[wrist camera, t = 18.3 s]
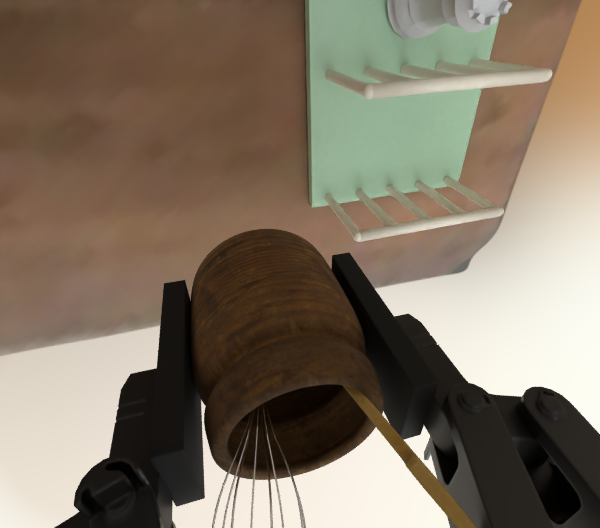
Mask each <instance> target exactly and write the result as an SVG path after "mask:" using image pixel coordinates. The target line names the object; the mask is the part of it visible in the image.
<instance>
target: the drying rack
mask: <svg viewBox="0 0 600 528" xmlns="http://www.w3.org/2000/svg"><path fill="white" fill-rule="evenodd" d="M387 3H388V0H305V31H306V78H307V125H308V172H309V204H310V205H311V207H312V208H313V207H320V206H326V205H329V206H330V207H331V208H332V210H333V211H334V212H335V214H336V215H337V216H338V218H339V219H340V220H341V222H342V223H343V224H344V226H345V227H346V228H347V230H348V231H349V232H350V233H351V235H352V236H353V238H354V240H355V241H357V242H361V241H367V240H372V239H378V238H383V237H389V236H394V235H400V234H405V233H411V232H416V231H422V230H427V229H433V228H438V227H444V226H449V225H455V224H460V223H466V222H471V221H477V220H482V219H488V218H493V217H499V216H501V215H502V214H503V213H504V210H503V208H502V207H499V206H497V205H495V204H494V203H492V202H490V201H489V200H487V199H486V198H484V197H482V196H481V195H479V194H477V193H476V192H474V191H472V190H471V189H469V188H467V187H466V186H464V185H462V184H461V183H459V178H460V174H461V170H462V166H463V162H464V158H465V154H466V150H467V146H468V142H469V138H470V134H471V130H472V126H473V122H474V118H475V114H476V110H477V106H478V102H479V98H480V94H481V90H482V88H490V87H500V86H510V85H520V84H530V83H541V82H546V81H548V80H549V79H550V78H551V76H552V70H551V69H549V68H537V67H530V66H523V65H516V64H509V63H503V62H496V61H489V58H490V54H491V50H492V46H493V42H494V38H495V34H496V30H497V26H498V22H499V18H500V15H499V16H498V22H496V23H493V24H491V25H490V26H489V27H488V28H487V29H484V30H482V31H479V32H477V33H474V32H466V31H465V30H464V29H463V28H462V27H454V26H451V25H450V24H449V23H447V24H444V25H442V26H441V27H440V28H439V29H438V30H437V31H436V32H435V33H433V34H431V35H429V36H426V37H424V38H421V39H420V38H416V39H408V38H403V37H402V36H400V35H399V34H398V33H396V32H395V31H394V29H393V27H392V25H391V23H390V21H389V16H388V6H387ZM447 186H450V187H452V188H453V189H455V190H456V191H458V192H459V193H461V194H463V195H464V196H466V197H467V198H469V199H470V200H472V201H473V202H475V203H477V204H478V205H480V206H481V207H483V208H484V209H481V210H475V211H470V212H465V211H464V210H462V209H461V208H459V207H458V206H457V205H455V204H454V203H452V202H451V201H449V200H448V199H447V198H445V197H444V196H442V195H441V194H439V193H438V192H437V191H435V190H434V188H440V187H447ZM415 191H422V192H424V193H425V194H426V195H428V196H429V197H430V198H432V199H433V200H434V201H436V202H437V203H439V204H440V205H441V206H443V207H444V208H445V209H447V210H448V211H449V212H451V213H452V214H453V215H447V216H441V217H435V218H432V217H430V216H429V215H428V214H427V213H425V212H424V211H423V210H422V209H421V208H419V207H418V206H417V205H416V204H414V203H413V202H412V201H411V200H410V199H408V198H407V197H406V196H405V195H403V194H402V193H409V192H415ZM390 195H392V196H393V197H394V198H395V199H396V200H398V201H399V202H400V203H401V204H402V205H403V206H404V207H406V208H407V209H408V210H409V211H410V212H411V213H413V214H414V215H415V216H416V217H417V218H418V219H419V220H418V221H413V222H407V223H401V224H396V223H395V222H394V221H393V220H392V219H391V218H390V217H389V216H388V215H387V214H386V213H385V212H384V211H383V210H382V209H381V208H380V207H379V206H378V205H377V204H376V203H375V202H374V201H373V200H372V199H371V198H377V197H383V196H390ZM358 200H361V201H362V202H363V203H364V204H365V205H366V206H367V207H368V208H369V209H370V210H371V211H372V212H373V213H374V214H375V215H376V216H377V218H378V219H379V220H380V221H381V222H382V223H383V224H384V225H385V226H384V227H378V228H373V229H367V230H361V231H360V230H359V228H358V227H357V226H356V225H355V224H354V222H353V221H352V220H351V219H350V217H349V216H348V215H347V214H346V213H345V211H344V210H343V209H342V208H341V206H340V205H339V203H345V202H351V201H358Z"/></svg>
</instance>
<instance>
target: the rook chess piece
mask: <svg viewBox="0 0 600 528" xmlns="http://www.w3.org/2000/svg"><path fill="white" fill-rule="evenodd" d="M507 1H508V0H388V3H387V6H388V16H389V21H390V23H391V25H392V27H393V29H394V31H395V32H396V33H398V34H399V35H400V36H402V37H403V38H408V39H416V38H420V39H421V38H424V37H426V36H429V35H431V34H433V33H435V32H436V31H437V30H438V29H439V28H440V27H441V26H442V25H444V24H447V23H449V24H450V25H451V26H454V27H462V28H463V29H464V30H465V31H466V32H474V33H477V32H479V31H482V30H484V29H487V28H488V27H489V26H490V25H491V24H493V23H496V22H498V16H499V15H500V14H507V12H508V10H509V9H510V7H511V6H512V3H510V2H507Z"/></svg>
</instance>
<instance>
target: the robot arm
mask: <svg viewBox="0 0 600 528" xmlns="http://www.w3.org/2000/svg"><path fill="white" fill-rule="evenodd" d="M332 272H333V274H334V275H335V277H336V279H337V281H338V282H339V284H340V286H341V288H342V289H343V291H344V293H345V295H346V297H347V298H348V300H349V302H350V304H351V306H352V308H353V310H354V312H355V314H356V316H357V318H358V320H359V323H360V325H361V328H362V331H363V335H364V340H365V356H366V357H367V358H368V359H369V361H370V362H371V364H372V365H373V367H374V369H375V372H376V374H377V377H378V380H379V384H380V387H381V391H382V394H383V399H384V409H383V411H384V413H385V415H386V417H387V419H388V421H389V423H390V425H391V426H392V427H393V428H394V430H395V431H396V432H397V433H398V434H399V435H400V437H401V438H402V439H403V440H404V439H407V438H410V437H414V436H417V435H420V434H421V431H422V428H423V426H425V427H426V429H427V431H428V433H429V434H430V439H429V441H428V444H427V446H426V449H425V451H424V459H425V460H428V459H429V457H430V454H431V456H432V460H433V463H434V467H435V471H436V475H437V479H438V481H439V482H440V483H441V484H442V485H443V487H444V488H445V489H446V490H447V491H448V492H449V494H450V495H451V496H452V497H453V499H454V500H455V501H456V502H457V503H458V505H459V506H460V507H461V508H462V510H463V511H464V512H465V513H466V515H467V516H468V517H469V518H470V520H471V521H472V522H473V523H474V524H475V526H476V527H477V528H600V434H599V433H598V432H597V431H596V430H595V429H594V428H593V427H592V425H591V424H589V422H588V421H587V420H586V419H585V418H584V417H583V416H582V415H581V414H580V413H579V412H578V410H577V409H576V408H575V407H574V406H573V405H572V404H571V403H570V402H569V401H568V400H567V399H565V398H564V397H563V396H562V395H560V394H559V393H557V392H555V391H553V390H551V389H547V388H544V387H531V388H529V389H527V390H526V392H525V393H524V395H523V396H522V397H517V396H500V395H492V394H488V393H487V392H486V391H485V390H484V389H483V388H481V387H478V386H476V385H474V384H470V383H468V382H467V381H466V380H465V378H463V376H462V375H461V374H460V372H459V371H458V370H457V368H456V367H455V366H454V365H453V363H452V362H451V361H450V359H449V358H448V357H447V355H446V354H445V353H444V352H443V350H442V349H441V348H440V347H439V345H437V343H436V341H435V340H434V339H433V337H432V336H430V334H429V332H428V331H427V330H426V328H425V327H424V326H423V324H422V323H421V322H420V321H418V320H417V319H415V318H414V317H413V316H411V315H410V314H405V315H400V316H395V317H394V316H393V315H392V313H391V312H390V310H389V309H388V308H387V306H386V305H385V303H384V302H383V301H382V299H381V297H380V296H379V295H378V293H377V292H376V290H375V289H374V287H373V286H372V284H371V283H370V282H369V280H368V279H367V277H366V276H365V274H364V273H363V272H362V270H361V269H360V267H359V266H358V264H357V263H356V261H355V260H354V259H353V257H352V256H351V254H350V253H344V254H338V255H332ZM118 406H119V409H118V410H117V416H116V423H115V428H114V433H113V439H112V444H111V450H110V456H109V458H107V459H104V460H102V461H101V462H100V463H98V464H97V465H95V466H94V467H93V468H91V470H90V471H89V472H88V473H87V474H86V475H85V476H84V477H83V479H82V480H81V482H80V485H79V486H78V489H77V490H76V493H75V500H74V506H75V507H76V508H77V509H78V510H79V511H80V512H78V513H77V514H76V515H74V516H73V517H71V518H69V519H68V520H66V521H65V522H63V523H61V524H60V525H58V526H56V527H55V528H176V527H175V524H174V523H173V521H172V500H173V501H174V503H175V505H176V506H180V505H183V504H187V503H190V502H193V501H197V500H200V499H204V497H205V495H204V469H203V444H202V443H203V442H202V415H201V398H200V396H199V394H198V391H197V389H196V385H195V381H194V377H193V370H192V360H191V301H190V297H189V294H188V290H187V286H186V283H185V280H182V281H176V282H170V283H164V290H163V302H162V314H161V326H160V338H159V350H158V362H157V368H156V369H152V370H147V371H142V372H138V373H133V374H130V376H129V378H128V379H127V381H126V383H125V384H124V386H123V387H122V389H121V394H120V399H119V405H118ZM447 517H448V516H447ZM448 521H449V524H450V528H457V527H456V525H455V524H454V523H453V522H452V521H451V520H450V518H449V517H448Z"/></svg>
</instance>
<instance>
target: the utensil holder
mask: <svg viewBox="0 0 600 528" xmlns="http://www.w3.org/2000/svg"><path fill="white" fill-rule="evenodd" d="M191 360H192V370H193V377H194V381H195V385H196V389H197V391H198V394H199V396H200V398H201V400H202V401H203V403H204V404H205V406H206V408H205V413H204V424H205V431H206V435H207V439H208V443H209V447H210V450H211V454H212V457H213V459H214V460H215V462H216V464H217V465H218V466H219V467H220V468H222V469H223V470H225V471H226V472H228V473H227V475H226V478H225V481H224V483H223V486H222V489H221V492H220V495H219V498H218V502H217V505H216V509H215V514H214V519H213V524H212V528H214V523H215V518H216V513H217V508H218V504H219V501H220V497H221V494H222V491H223V488H224V485H225V483H226V480H227V477H228V474H229V473H230V474H232V475H235V476H234V480H233V483H232V486H231V490H230V494H229V497H228V501H227V505H226V510H225V515H224V520H223V527H222V528H224V525H225V518H226V514H227V508H228V504H229V500H230V496H231V492H232V489H233V485H234V482H235V478H236V476H238V479H237V484H236V489H235V496H234V502H233V510H232V522H231V528H233V521H234V509H235V501H236V494H237V488H238V483H239V478H240V477H242V478H247V479H253V489H252V506H251V528H252V518H253V498H254V482H255V479H256V480H268V482H269V496H270V518H271V528H273V520H272V519H273V518H272V498H271V484H270V479H275V481H276V487H277V492H278V498H279V505H280V512H281V520H282V528H284V523H283V515H282V507H281V501H280V495H279V489H278V484H277V479H279V478H285V477H291V479H292V482H293V484H294V488H295V492H296V495H297V500H298V505H299V510H300V518H301V526H302V528H306V526H305V519H304V514H303V509H302V505H301V501H300V497H299V494H298V491H297V488H296V485H295V482H294V479H293V476H295V475H299V474H303V473H306V472H309V471H312V470H315V469H318V468H320V467H322V466H325V465H327V464H329V463H331V462H333V461H335V460H337V459H339V458H341V457H342V456H344V455H345V454H347V453H349V452H350V451H352V450H353V449H354V448H356V447H357V446H358V445H359V444H361V443H362V442H363V441H364V440H365V439H366V438H367V437H368V436H369V435H370V434H371V433H372V431H373V430H374V429H375V427H377V429H378V430H379V431H380V432H381V433H382V435H383V436H384V437H385V438H386V440H387V441H388V442H389V443H390V445H391V446H392V447H393V448H394V450H395V451H396V452H397V453H398V454H399V456H400V457H401V458H402V460H403V461H404V463H405V464H406V466H407V468H408V469H409V470H410V471H411V473H412V474H413V475H414V476H415V478H416V479H417V480H418V481H419V483H420V484H421V485H422V486H423V488H424V489H425V490H426V491H427V492H428V494H429V495H430V496H431V497H432V498H433V499H434V501H435V502H436V503H437V504H438V505H439V507H441V509H442V510H443V511H444V512H445V514H446V515H447V516H448V517H449V518H450V520H451V521H452V522H453V523H454V524H455V525H456V527H457V528H477V527H476V526H475V524H474V523H473V522H472V521H471V520H470V518H469V517H468V516H467V515H466V513H465V512H464V511H463V510H462V508H461V507H460V506H459V505H458V503H457V502H456V501H455V500H454V499H453V497H452V496H451V495H450V494H449V492H448V491H447V490H446V489H445V488H444V487H443V485H442V484H441V483H440V482H439V481H438V480H437V479H436V477H435V476H434V475H433V474H432V473H431V471H430V470H429V469H428V468H427V467H426V466H425V465H424V463H423V462H422V461H421V460H420V459H419V458H418V457H417V455H416V454H415V453H414V452H413V451H412V449H411V448H410V447H409V446H408V445H407V444H406V442H405V441H404V440H403V439H402V438H401V437H400V435H399V434H398V433H397V432H396V431H395V430H394V428H393V427H392V426H391V425H390V424H389V423H388V421H387V420H386V419H385V418H384V417H383V416H382V413H383V409H384V399H383V394H382V391H381V387H380V384H379V380H378V377H377V374H376V372H375V369H374V367H373V365H372V364H371V362H370V361H369V359H368V358H367V357H366V356H365V340H364V335H363V331H362V328H361V325H360V323H359V320H358V318H357V316H356V314H355V312H354V310H353V308H352V306H351V304H350V302H349V300H348V298H347V297H346V295H345V293H344V291H343V289H342V288H341V286H340V284H339V282H338V281H337V279H336V277H335V275H334V274H333V272H332V270H331V269H330V267H329V265H328V264H327V262H326V261H325V259H324V258H323V257H322V255H321V254H320V253H319V252H318V250H317V249H316V248H315V247H314V246H313V245H312V244H310V243H309V242H308V241H306V240H305V239H303V238H302V237H300V236H298V235H295V234H293V233H290V232H287V231H282V230H276V229H258V230H252V231H247V232H244V233H241V234H238V235H235V236H233V237H231V238H229V239H227V240H225V241H224V242H222V243H221V244H219V245H218V246H217V247H215V248H214V249H213V250H212V251H211V252H210V253H209V254H208V255H207V257H206V258H205V259H204V260H203V262H202V263H201V265H200V267H199V268H198V271H197V273H196V275H195V278H194V282H193V287H192V293H191ZM302 517H303V519H302ZM303 524H304V527H303Z"/></svg>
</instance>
